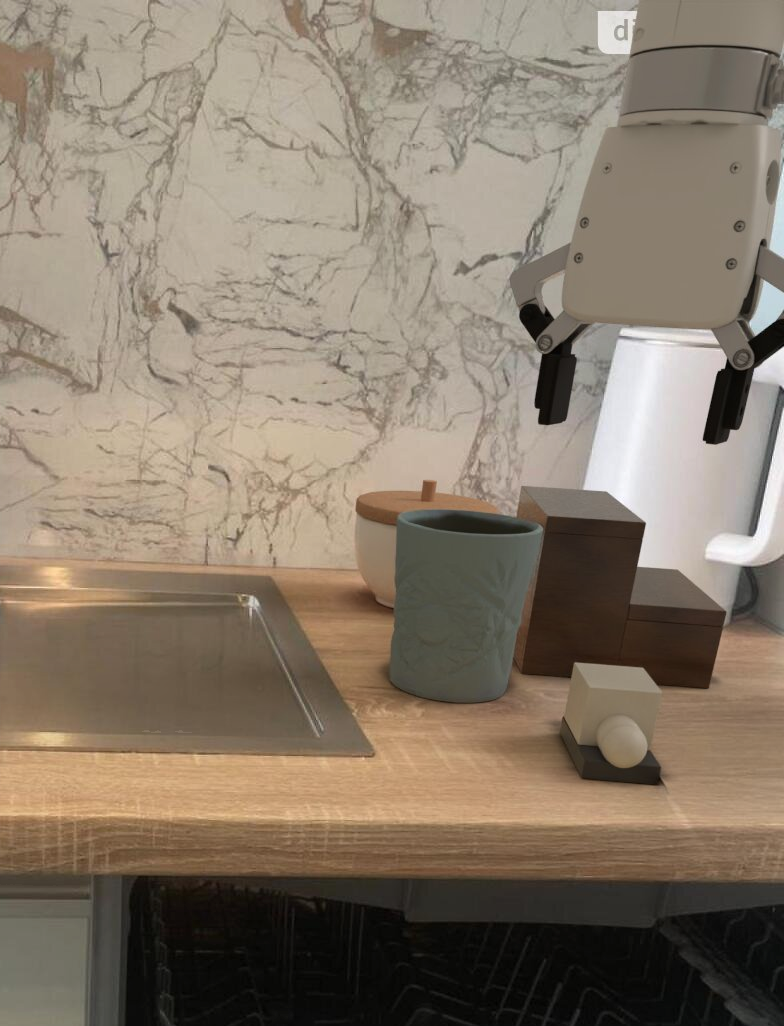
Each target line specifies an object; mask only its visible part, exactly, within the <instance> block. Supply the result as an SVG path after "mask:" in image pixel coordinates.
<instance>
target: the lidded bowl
mask: <svg viewBox="0 0 784 1026" xmlns="http://www.w3.org/2000/svg"><path fill="white" fill-rule="evenodd" d="M437 484H438V481H437V480H435V479H423V480H422V487H421V490H379V491H371V492H366V493H363V494H360V495H358V497H357V498H356V500H355V512H356V514H355V515H356V516H355V525H354V554H355V561H356V565H357V569H358V572H359V574H360V576H361V578H362V581H364V583H365V584H366V586H367V588H368V589H369V590H370V591H371V592H372V593H373V594H374V596H375V601H376V602H377V603H379V604H380V605H382V606H386V607H388V608H391V609H394V604H395V596H396V587H395V580H394V577H395V558H396V533H397V516H398V515H400V514H401V513H404V512H408V511H414V510H429V509H449V510H467V511H476V512H485V513H493V514H500V512H499V511H500V510H499V509H498V507H497V506H496V505H494V504H492V503H490V502H487V501H484V500H481V499H477V498H473V497H468V496H463V495H459V494H450V493H443V492H436V490H437Z"/></svg>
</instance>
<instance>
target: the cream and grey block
mask: <svg viewBox="0 0 784 1026" xmlns="http://www.w3.org/2000/svg"><path fill="white" fill-rule="evenodd" d="M663 695H664V692H663V691H662V690H661V688H660V687H659V686H658V684H655V682H654V681H653V680H652V678H651V677H650V676H649V675H648V673H647V672H646V671H645V669H644V668H639V667H627V666H614V665H601V664H589V663H576V662H575V663H574V666H573V671H572V677H570V683H569V688H568V694H567V699H566V704H565V708H564V714H563V716H562V718H561V723H560V728H559V735H560V737H561V738H562V741H563V743H564V745H565V747H566V749H567V751H568V753H569V755H570V757H571V759H572V761H573V764H574V766H575V768H576V770H577V772H578V774H579V776H580V778H581V779H588V780H597V781H609V782H619V783H620V782H621V783H633V784H643V785H644V784H645V785H646V784H647V785H655V786H658V783H659V779H660V775H661V770H662V766H661V764H660V762H658V760H657V758H656V756H655V755H654V754H653V752H652V751H651V749H652V746H653V740H654V736H655V732H656V727H657V723H658V718H659V713H660V710H661V709H660V708H661V705H662V701H663V697H664V696H663Z"/></svg>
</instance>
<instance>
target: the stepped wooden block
mask: <svg viewBox="0 0 784 1026" xmlns="http://www.w3.org/2000/svg"><path fill="white" fill-rule="evenodd" d="M515 517H516V518H521V519H525V520H529V521H532V522H535V523H537V524H539V525H540V526H542V528H543V533H542V537H541V541H540V546H539V550H538V554H537V558H536V562H535V566H534V570H533V574H532V577H531V580H530V583H529V587H528V590H527V593H526V597H525V602H524V607H523V611H522V615H521V624H520V627H519V629H518V631H517V637H516V642H515V649H514V656H513V660H514V661H515V663H516V665H517V668H518V669H519V672H520V674H523V675H525V674H526V675H536V676H549V677H562V678H571V677H572V671H573V666H574V663H575V662H576V663H589V664H601V665H614V666H627V667H639V668H644V669H645V671H646V672H647V673H648V675H649V676H650V677H651V678H652V680H653V681H654V682H655V684H656V685H663V686H671V687H672V686H674V687H687V688H697V689H709V688H710V685H711V680H712V677H713V673H714V667H715V663H716V660H717V655H718V651H719V647H720V643H721V638H722V635H723V634H722V633H723V630H724V625H725V620H726V617H727V613H728V612H727V610H726V609H724V608H723V607H722V606H721V605H720V604H719V603H718V602H717V601H715V600H714V599H713V598H712V597H710V596H709V595H708V594H707V593H706V592H704V590H703V589H702V588H700V587H699V586H697V585H696V583H694V582H693V581H692V580H691V579H689V578H688V577H687V576H686V575H685V574H684V573H682V572H681V570H679V569H676V568H675V569H674V568H663V567H649V566H646V567H645V566H639V561H640V555H641V550H642V546H643V539H644V536H645V531H646V526H647V522H646V521H644V520H643V519H642V518H641V517H640V516H638V515H637V514H636V513H635V512H633V510H631V509H629V507H627V506H626V505H624V503H622V502H621V501H619V500H618V499H617V498H615V496H613V495H612V494H611V493H609V492H608V491H605V490H590V489H577V488H576V489H574V488H559V487H545V486H531V485H530V486H529V485H521V486H520V491H519V497H518V503H517V510H516V516H515Z"/></svg>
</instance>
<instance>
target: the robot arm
mask: <svg viewBox="0 0 784 1026" xmlns="http://www.w3.org/2000/svg"><path fill="white" fill-rule="evenodd" d="M783 47H784V0H638V3H637V9H636V15H635V22H634V27H633V32H632V39H631V44H630V50H629V56H628V62H627V67H626V73H625V79H624V85H623V89H622V96H621V102H620V106H619V114H618V120H617V123H616V126H608V127H606V128H605V129H604V131H603V135H602V137H601V139H600V142H599V146H598V148H597V151H596V153H595V155H594V156H595V157H594V159H593V162H592V165H591V168H590V171H589V175H588V177H587V180H586V184H585V187H584V191H583V193H582V198H581V200H580V205H579V209H578V212H577V216H576V220H575V225H574V227H573V228H574V229H573V233H572V237H571V241H570V242H568V243H566V244H565V245H563V246H561V247H559V248H557V249H554V250H553V251H551V252H549V253H547V254H545V255H542V256H541V257H539V258H536V259H535V260H533V261H531V262H529V263H527V264H525V265H523V266H521V267H519V268H517V269H515V270H514V271H513V272H511V274H510V276H509V284H510V288H511V291H512V294H513V297H514V301H515V304H516V307H517V308H518V311H519V313H518V318H519V321H520V323H522V326H523V327H524V329H525V330H526V331H527V333H528V334H529V336H530V337H531V338H532V340H533V341H534V343H535V345H534V346H535V349H536V351H537V352H538V353H539V354H541V356H540V357H541V358H540V364H539V369H538V370H539V371H538V376H537V382H536V389H535V395H534V401H533V402H534V405H533V406H534V408H535V409H536V410H538V417H537V423H538V425H540V426H552V425H553V426H554V425H558V424H562V423H563V422H566V421H567V419H568V414H569V408H570V402H571V397H572V391H573V386H574V385H573V384H574V379H575V373H576V368H577V362H578V358H577V356H576V354H575V353H572V350H573V345H575V344H576V343H577V341H578V340H579V339H580V338H581V337H582V336H583V335H584V334H585V333H587V331H588V330H589V329H590V328H591V327H592V326H594V325H595V323H597V324H607V325H608V324H611V325H626V326H638V327H654V328H668V329H669V328H671V329H685V330H686V329H687V330H711V332H712V334H713V335H714V337H715V339H716V340H717V341H716V342H718V344H719V346H720V347H721V350H722V351H723V353H724V354H725V355H724V356H725V357H726V361H725V365H724V368H721V369H720V370H717V372H716V376H715V378H714V379H715V380H714V385H713V387H712V388H713V389H712V393H711V398H710V402H709V407H708V411H707V415H706V416H707V417H706V421H705V425H704V430H703V435H702V442H705V444H706V445H714V446H717V445H719V444H723V443H727V441H729V438H730V433H731V431H738V430H740V428H741V426H742V424H743V420H744V416H745V411H746V409H747V403H748V399H749V394H750V390H751V386H752V381H753V376H754V373H755V369H757V368H759V367H761V366H762V365H763V363H764V362H765V361H767V360H768V359H770V358H771V357H772V356H774V355H775V354H776V353H778V352H779V351H780V350H782V349H783V348H784V309H783V310H782V312H781V313H780V315H778V316H777V318H776V320H775V321H773V322H772V323H771V324H769V325H768V326H766V327H765V328H764V329H763V330H761V331H760V332H759V333H757V334H756V335H755V333H754V331H753V329H752V327H751V326H750V324H749V322H751V321H752V319H753V318H754V317H755V315H756V313H757V310H758V308H759V303H760V301H761V296H762V293H763V288H764V283H765V282H766V283H768V284H769V285H771V286H773V287H774V288H776V289H777V290H779V291H780V292H781V293H783V294H784V258H783V257H782V256H781V255H779V254H777V253H776V252H774V251H773V250H771V249H770V247H771V241H772V235H773V229H774V223H775V215H776V208H777V201H778V200H777V199H778V193H779V192H778V191H779V184H780V174H781V173H780V172H781V159H782V130H781V129H778V128H776V127H772V126H769V125H767V122H768V119H772V116H773V112H774V111H775V110H776V109H777V107H778V105H784V61H782V60H781V56H782V52H783ZM561 275H563V282H562V288H561V289H562V290H561V307H562V311H561V312H560V313H559V314H558V315H557V316H556V317H554V316H553V314H552V313H551V311H550V310H549V309H548V308H547V306H546V305H545V303H544V299H543V298H544V297H543V293H542V290H543V287H544V285H545V284H546V283H548V282H549V281H552V280H554V279H556V278H558V277H559V276H561Z"/></svg>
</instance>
